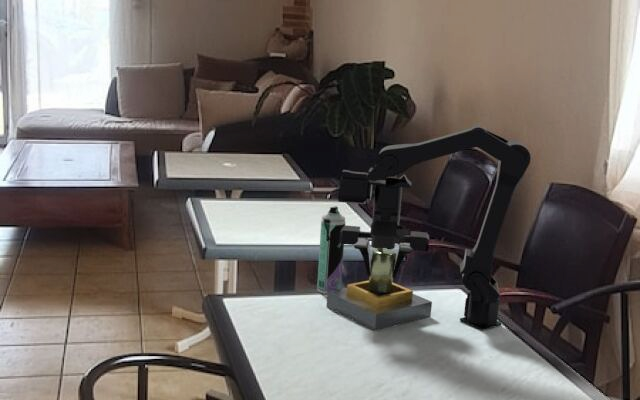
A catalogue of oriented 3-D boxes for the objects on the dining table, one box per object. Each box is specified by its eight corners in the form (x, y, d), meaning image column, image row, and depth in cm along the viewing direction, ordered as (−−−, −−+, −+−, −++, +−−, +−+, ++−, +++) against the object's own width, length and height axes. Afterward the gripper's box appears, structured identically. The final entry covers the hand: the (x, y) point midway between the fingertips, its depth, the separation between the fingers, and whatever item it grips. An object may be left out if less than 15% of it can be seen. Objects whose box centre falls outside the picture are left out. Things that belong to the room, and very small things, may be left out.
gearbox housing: (430, 317, 175) (432, 292, 173) (375, 330, 165) (377, 305, 164) (375, 292, 188) (376, 269, 187) (320, 303, 179) (322, 279, 177)
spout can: (396, 289, 174) (402, 245, 172) (379, 293, 171) (384, 247, 169) (380, 282, 178) (386, 239, 176) (363, 285, 175) (369, 241, 173)
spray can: (338, 296, 184) (344, 210, 180) (314, 293, 185) (320, 208, 181) (342, 288, 190) (348, 205, 185) (319, 285, 191) (324, 203, 186)
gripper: (339, 210, 164) (334, 284, 167) (431, 218, 162) (425, 292, 165) (344, 199, 175) (339, 268, 178) (431, 206, 173) (425, 276, 176)
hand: (381, 276), depth 174 cm, fingers closed on spout can, 5 cm apart
